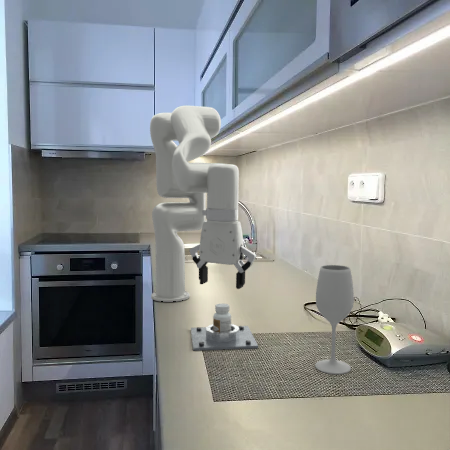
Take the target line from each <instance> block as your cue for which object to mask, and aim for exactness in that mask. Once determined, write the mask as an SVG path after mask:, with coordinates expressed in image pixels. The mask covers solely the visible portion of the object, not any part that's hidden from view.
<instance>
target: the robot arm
mask: <svg viewBox="0 0 450 450" xmlns="http://www.w3.org/2000/svg"><path fill="white" fill-rule="evenodd" d="M221 127H222V120H221V116H220V114H219V112H218V111H217V110H216V109H215V108H214V107H210V106H200V105H198V106H197V105H181V106H178V107H176V108H174V110H172V112H160V113H156V114H154V115H153V116H152V117H151V119H150V123H149V134H150V138H151V142H152V146H153V148H154V152H155V169H156V170H155V171H156V172H155V175H156V176H155V179H156V183H155V184H156V191H157V194H158V196H160V197H161V198H165V199H188V200H189V202H187V201H186V202H185V201H184V202H180V201H176V202H174V201H173V202H171V201H169V202H160V203H158V204H156V205H155V206H154V207H153V209H152V210H151V211H152V212H151V213H152V214H151V219H152V224H153V225H152V226H153V231H154V242H155V243H154V245H155V247H154V248H155V249H154V250H155V292H152V293H151V295H150V297H151V298H150V299H152V300H153V301H156V302H161V301H163V303H172V302H173V301H176V302H183V301H187V300H188V299H190V293H189V291H186V287H185V284H186V283H185V282H186V281H185V280H186V275H185V274H186V271H185V270H186V269H185V268H186V267H185V266H186V264H185V261H186V259H185V253H186V251H185V243H184V241H183V239H182V238H181V237H180V236H179V235H178V233H179V232H191V231H199V230H201V232H200V238H199V239H200V240H199V244H198V245H195V246H193V247H191V248H189V250H188V251H189V253H190V256H191V258H192V259H191V260H192V261H193V262H194V264H195V265H196V267H197V268H198V280H199V285H204V284H206V283H208V279H209V278H208V277H209V270H208V269H209V268H208V267H209V266H207V264H208V263H210V264H220V265H226V266H230V265H231V266H232V265H234V267H235V268H236V269H237V272H236V275H235V279H236V280H235V288H236V290H240V289H242V288H243V287H244V286H245V284H246V271H247V270H249V268H250V267H252V266H253V265H254V264H253V263H254V262H255V260H256V258H257V254H256V253H255V252H252V251H251V250H250V249H249V248H247V247H245V246H244V237H243V235H244V234H243V229H242V223H241V221H239V195H240V193H239V191H240V190H239V189H240V186H239V185H240V183H239V182H240V169H239V167H238V166H237V165H236V164H232V163H231V164H228V163H218V162H217V163H215V162H213V163H211V162H191V161H193V160H195V159H198V158H200V157H202V156H204V155H205V154H207V152H208V151H209V150H210V148H211V145H212V138H215V137H216V136H218V134H219V133H220V131H221ZM174 141H176V142H178V144H176V143H175V142H174ZM198 252H199V253H198ZM244 256H245V257H247V261H246V262H244V261H243V259H244ZM182 300H183V301H182ZM173 303H174V302H173Z"/></svg>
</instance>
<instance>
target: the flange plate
mask: <svg viewBox="0 0 450 450" xmlns="http://www.w3.org/2000/svg"><path fill="white" fill-rule="evenodd" d="M237 326H238V327H239V338H238V339H236V340H233V341H229V342H217V341H211V340H209V339H207V338H206V327H207V326H203V327H200V326H199V327H190V333H191V341H192V351H218V350H219V351H220V350H221V351H222V350H223V349H225V350H245V349H249V350H250V349H258V348H259V345H258V343H257V341H256V339H255V336H254V335H253V333H252V331H251V329H250V327H249V326H248V325H237ZM239 348H241V349H239ZM242 348H243V349H242Z"/></svg>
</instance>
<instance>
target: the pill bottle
mask: <svg viewBox="0 0 450 450" xmlns="http://www.w3.org/2000/svg"><path fill="white" fill-rule="evenodd" d="M214 305H215V308H214V309H215V313H214V314H213V316H212V319H213V323H212V324H213V331H215V332H230V331H231V324H232V314H231V313H230V304H228V303H216V304H214Z"/></svg>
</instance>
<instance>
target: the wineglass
mask: <svg viewBox="0 0 450 450" xmlns="http://www.w3.org/2000/svg"><path fill="white" fill-rule="evenodd" d="M353 283H354V282H353V276H352V270H351V267H349V266H345V265H340V264H326V265H321V266H320V269H319V272H318V278H317V283H316V290H315V305H316V308H317V311H318V312H319V313H320V314H321V315H322V316H323V318H324V319H326V321H328V322H329V324H330V326H331V354H330V355H331V356H330V359H322V360H318V361H317V362H316V363H315V364H314V365H315V369H316V370H318V371H320V372H322V373H325V374H330V375H344V374H347V373H349V372H350V371H351V369H352V368H351V366H350V364H348V363H347V362H345V361H342V360H338V359H337V358H336V333H337V332H336V329H337V327H338V324H339V323H341V322H342V321H343V320H344V319H346V318H347V317H348V315H350V314H351V312H352V310H353V309H354V302H355V301H354V300H355V295H354V293H355V292H354V284H353Z"/></svg>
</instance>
